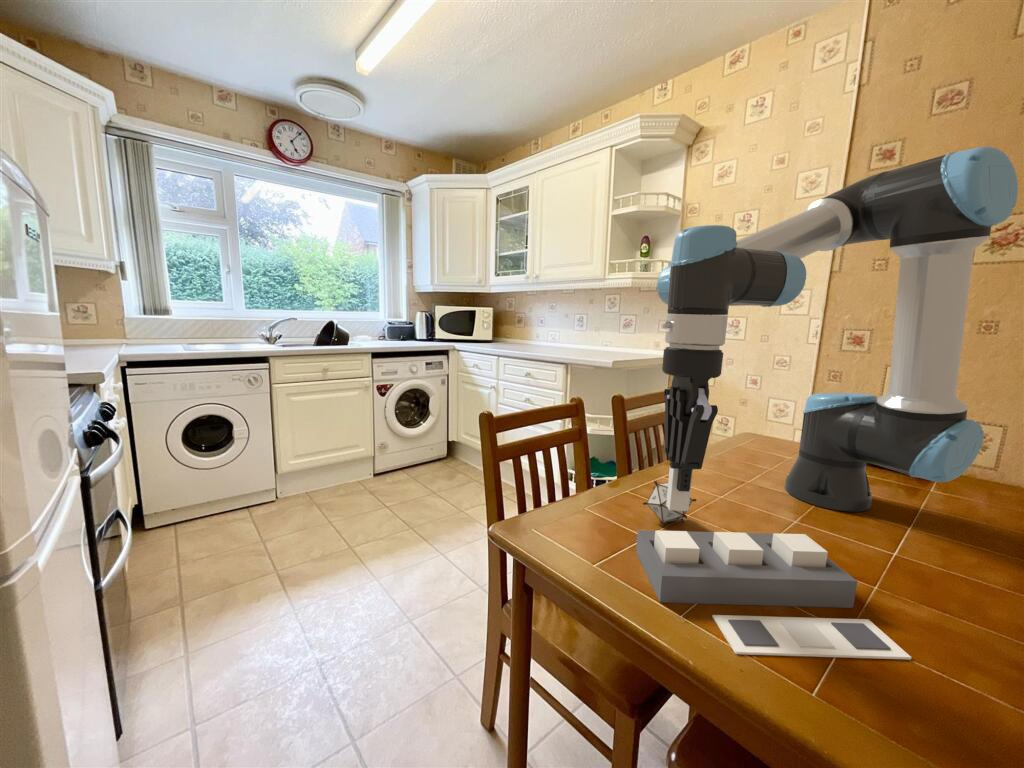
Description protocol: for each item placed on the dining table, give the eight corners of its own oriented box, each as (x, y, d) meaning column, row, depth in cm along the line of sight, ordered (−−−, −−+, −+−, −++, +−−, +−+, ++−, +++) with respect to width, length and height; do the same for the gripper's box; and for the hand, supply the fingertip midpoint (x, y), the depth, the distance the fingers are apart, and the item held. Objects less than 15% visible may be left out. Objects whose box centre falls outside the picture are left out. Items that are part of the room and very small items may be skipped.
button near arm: (802, 552, 64) (804, 534, 63) (824, 571, 59) (827, 551, 59) (770, 551, 64) (773, 533, 64) (790, 570, 59) (793, 551, 59)
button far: (684, 549, 64) (686, 531, 64) (697, 567, 60) (699, 548, 59) (653, 548, 64) (655, 530, 64) (664, 566, 60) (665, 547, 59)
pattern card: (868, 621, 54) (868, 618, 54) (911, 659, 48) (911, 655, 48) (712, 616, 54) (712, 613, 54) (735, 654, 48) (736, 650, 48)
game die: (676, 543, 78) (704, 519, 71) (633, 523, 79) (656, 498, 72) (679, 504, 85) (705, 479, 78) (640, 487, 86) (662, 460, 79)
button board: (795, 556, 68) (798, 534, 67) (852, 607, 56) (857, 581, 55) (635, 552, 68) (637, 530, 68) (659, 602, 57) (662, 575, 56)
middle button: (743, 550, 64) (745, 532, 64) (761, 569, 59) (763, 550, 59) (712, 549, 64) (714, 531, 64) (727, 568, 59) (729, 549, 59)
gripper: (651, 342, 63) (638, 488, 67) (684, 349, 50) (666, 530, 54) (700, 344, 63) (685, 490, 67) (746, 351, 50) (724, 532, 54)
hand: (677, 508), depth 61 cm, fingers closed
